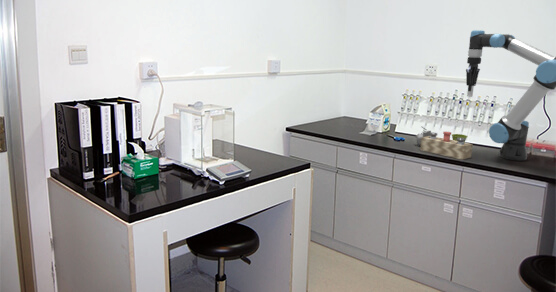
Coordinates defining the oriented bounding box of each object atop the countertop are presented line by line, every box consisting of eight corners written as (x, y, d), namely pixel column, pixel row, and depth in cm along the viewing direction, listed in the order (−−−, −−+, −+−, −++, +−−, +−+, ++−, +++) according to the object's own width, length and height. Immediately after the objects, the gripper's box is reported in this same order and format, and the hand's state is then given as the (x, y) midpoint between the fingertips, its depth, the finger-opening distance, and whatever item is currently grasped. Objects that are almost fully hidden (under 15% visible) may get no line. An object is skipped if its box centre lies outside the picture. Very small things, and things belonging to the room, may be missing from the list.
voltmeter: (435, 148, 287) (437, 133, 285) (417, 148, 288) (419, 132, 285) (424, 139, 313) (425, 125, 311) (407, 139, 313) (409, 125, 311)
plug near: (464, 154, 268) (466, 138, 266) (460, 155, 265) (462, 139, 263) (457, 152, 271) (459, 137, 269) (453, 153, 268) (455, 138, 266)
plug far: (437, 148, 281) (438, 133, 279) (433, 149, 278) (434, 134, 276) (430, 146, 285) (432, 132, 282) (426, 147, 282) (428, 133, 279)
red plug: (451, 147, 274) (452, 132, 272) (447, 148, 271) (448, 133, 269) (444, 146, 277) (445, 131, 275) (440, 147, 274) (441, 132, 272)
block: (471, 157, 268) (472, 144, 266) (462, 159, 262) (464, 146, 260) (429, 147, 289) (430, 135, 287) (420, 150, 282) (421, 137, 280)
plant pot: (467, 151, 283) (468, 137, 281) (451, 149, 285) (452, 136, 283) (464, 147, 292) (465, 134, 290) (448, 146, 294) (450, 133, 292)
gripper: (473, 56, 276) (469, 95, 282) (463, 56, 268) (458, 96, 273) (485, 57, 271) (480, 96, 276) (475, 57, 262) (470, 97, 268)
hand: (469, 96), depth 275 cm, fingers closed
